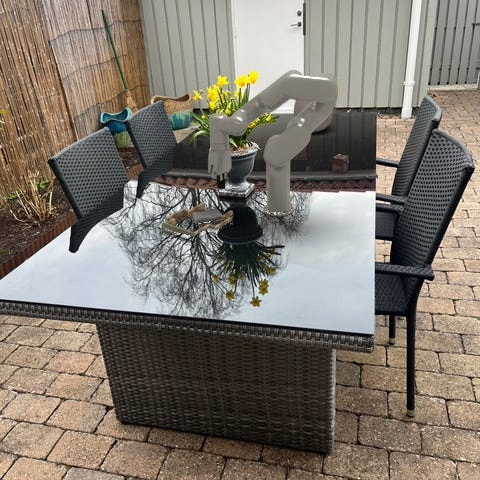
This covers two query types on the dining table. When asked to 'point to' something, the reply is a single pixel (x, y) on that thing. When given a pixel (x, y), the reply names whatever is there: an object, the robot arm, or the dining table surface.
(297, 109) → the plant pot
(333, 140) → the dining table surface
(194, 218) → the stone block
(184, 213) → the box
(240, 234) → the dining table surface
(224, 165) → the robot arm
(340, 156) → the box
